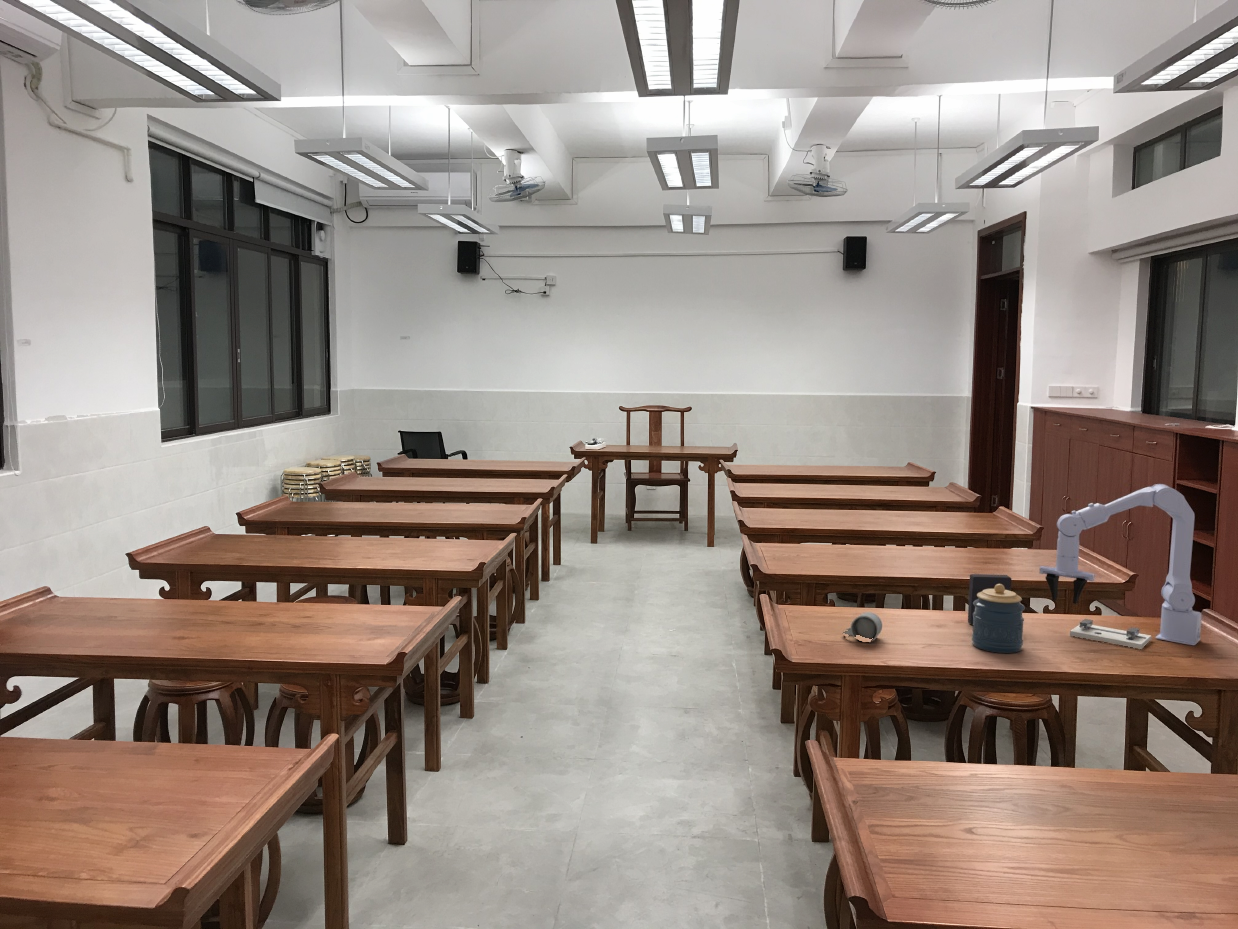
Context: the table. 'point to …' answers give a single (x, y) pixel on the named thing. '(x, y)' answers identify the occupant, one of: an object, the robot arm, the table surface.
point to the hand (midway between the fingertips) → (1065, 601)
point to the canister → (998, 621)
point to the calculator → (981, 583)
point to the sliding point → (1086, 624)
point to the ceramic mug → (866, 626)
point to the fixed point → (1132, 632)
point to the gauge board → (1111, 636)
